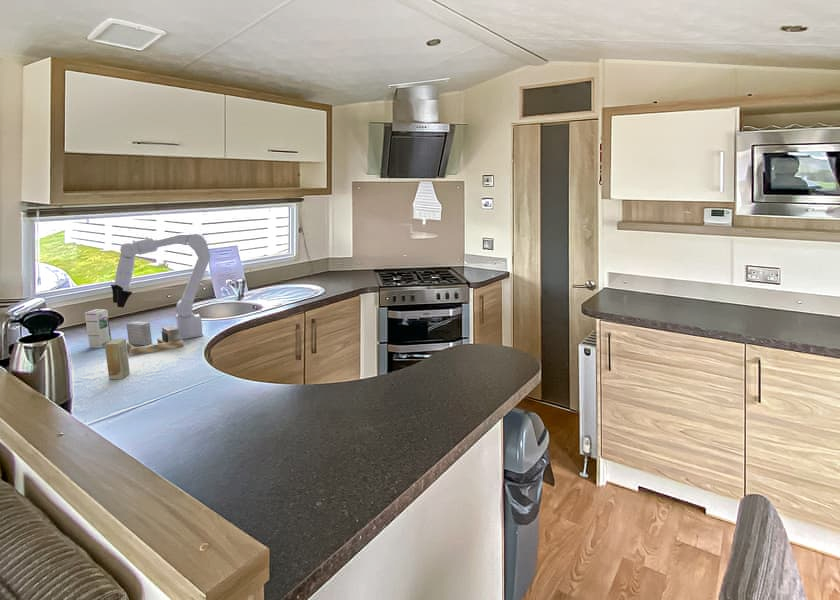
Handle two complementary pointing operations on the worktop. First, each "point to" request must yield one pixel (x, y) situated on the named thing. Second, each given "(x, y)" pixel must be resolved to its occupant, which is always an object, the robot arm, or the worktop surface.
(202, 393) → the worktop surface
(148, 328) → the medicine box
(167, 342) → the wooden rack
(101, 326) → the syrup box
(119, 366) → the skincare box
